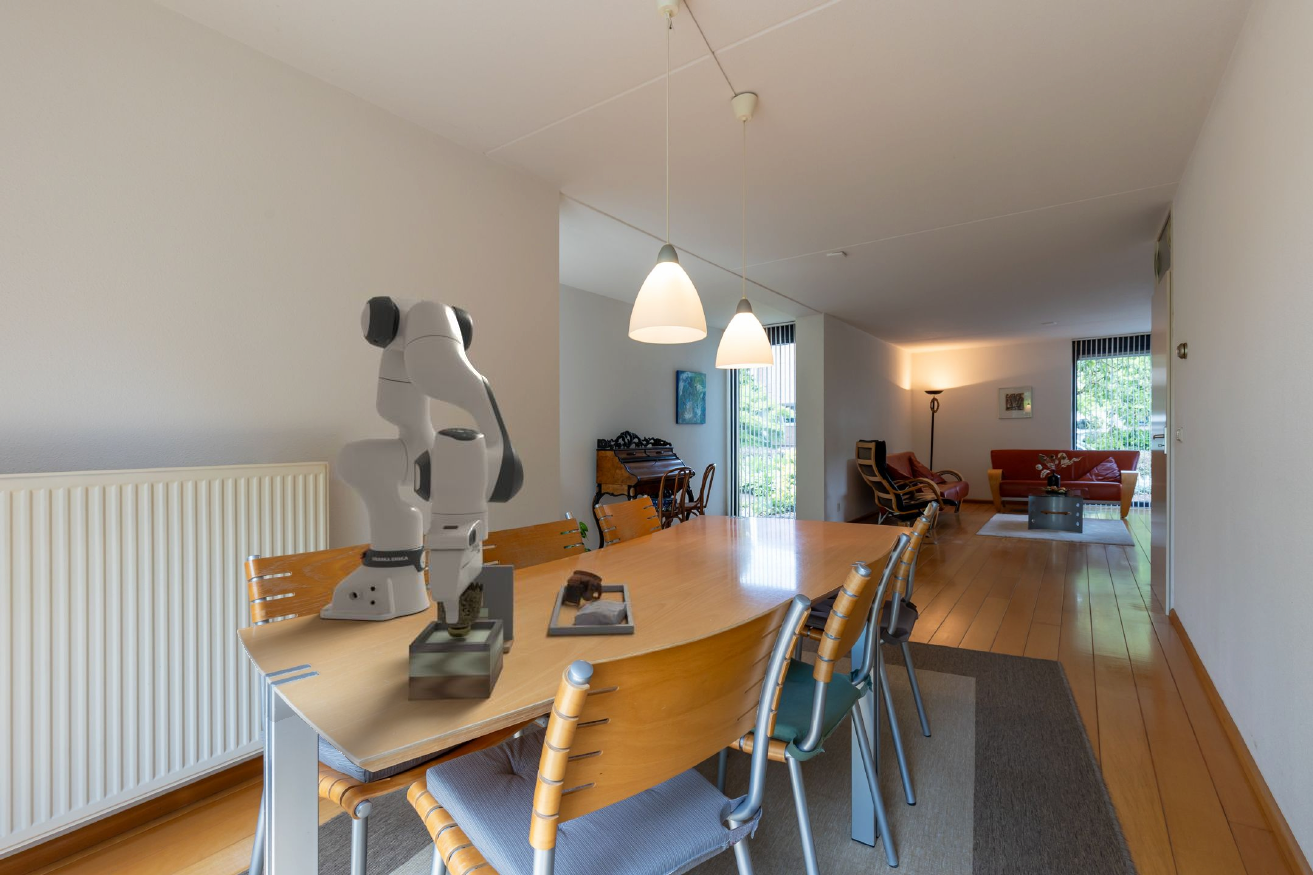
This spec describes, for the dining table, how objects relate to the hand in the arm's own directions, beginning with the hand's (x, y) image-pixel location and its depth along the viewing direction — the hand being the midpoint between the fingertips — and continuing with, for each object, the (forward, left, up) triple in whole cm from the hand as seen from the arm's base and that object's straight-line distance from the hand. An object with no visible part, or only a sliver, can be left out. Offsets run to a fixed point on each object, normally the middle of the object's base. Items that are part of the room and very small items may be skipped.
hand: (459, 614), depth 96 cm
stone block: (+23, +30, -12) cm, 39 cm away
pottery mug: (+19, +47, -11) cm, 52 cm away
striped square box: (0, 0, -11) cm, 11 cm away
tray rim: (+21, +39, -11) cm, 46 cm away
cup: (0, 0, -4) cm, 4 cm away
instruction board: (-1, +16, -11) cm, 19 cm away
